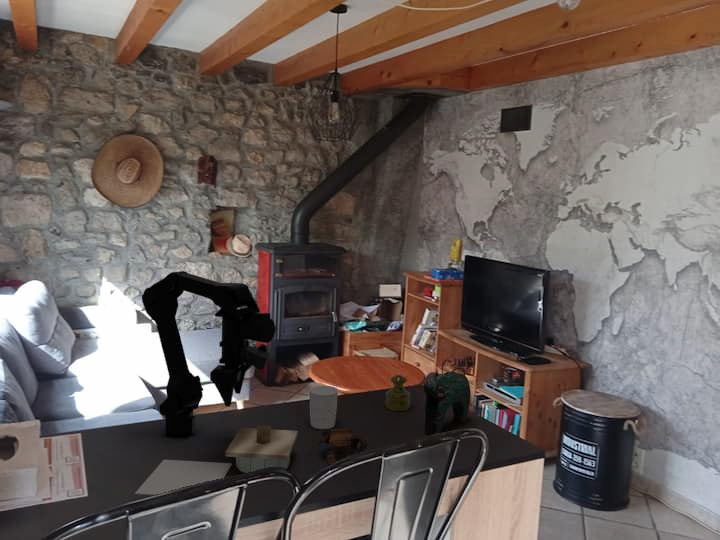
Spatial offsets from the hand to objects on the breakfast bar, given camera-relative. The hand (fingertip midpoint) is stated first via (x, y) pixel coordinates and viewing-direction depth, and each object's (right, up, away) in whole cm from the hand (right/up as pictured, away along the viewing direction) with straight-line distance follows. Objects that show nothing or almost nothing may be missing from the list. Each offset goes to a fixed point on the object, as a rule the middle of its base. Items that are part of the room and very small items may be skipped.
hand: (233, 399), depth 144 cm
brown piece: (+26, -14, 0) cm, 30 cm away
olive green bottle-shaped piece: (+42, -11, +37) cm, 57 cm away
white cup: (+20, -12, +21) cm, 31 cm away
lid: (+8, -10, -6) cm, 14 cm away
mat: (-7, -15, -14) cm, 21 cm away
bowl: (+8, -14, -6) cm, 17 cm away
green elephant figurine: (+54, -13, +22) cm, 60 cm away
